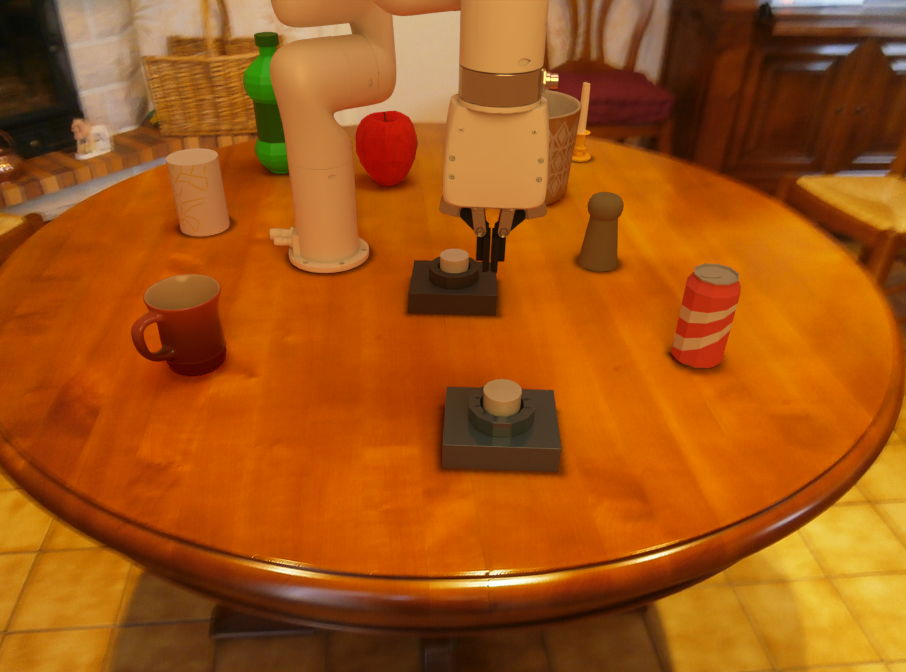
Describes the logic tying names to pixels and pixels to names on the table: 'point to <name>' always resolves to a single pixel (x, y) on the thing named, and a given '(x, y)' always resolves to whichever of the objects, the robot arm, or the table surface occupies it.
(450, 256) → the push button
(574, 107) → the planter
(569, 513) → the table surface
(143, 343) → the mug
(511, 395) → the beige push button
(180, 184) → the cup
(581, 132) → the candle
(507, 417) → the front button base
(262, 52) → the plastic bottle
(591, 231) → the pawn
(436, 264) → the dark brown button base
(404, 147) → the apple
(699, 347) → the beverage can
